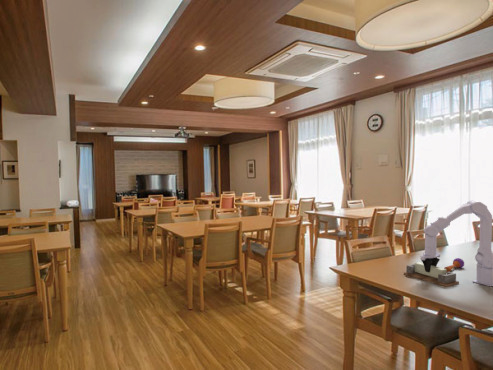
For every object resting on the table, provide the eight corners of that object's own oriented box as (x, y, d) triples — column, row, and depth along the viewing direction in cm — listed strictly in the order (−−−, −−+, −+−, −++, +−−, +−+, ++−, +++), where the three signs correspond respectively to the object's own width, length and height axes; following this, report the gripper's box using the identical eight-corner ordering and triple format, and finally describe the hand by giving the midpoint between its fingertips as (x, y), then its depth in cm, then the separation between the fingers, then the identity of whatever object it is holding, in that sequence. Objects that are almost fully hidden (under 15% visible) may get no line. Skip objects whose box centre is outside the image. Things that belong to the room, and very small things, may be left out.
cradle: (458, 283, 177) (459, 274, 177) (446, 286, 172) (446, 276, 172) (416, 271, 200) (416, 262, 199) (403, 274, 195) (403, 265, 194)
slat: (446, 278, 180) (446, 269, 180) (441, 279, 178) (441, 270, 178) (419, 270, 194) (419, 262, 194) (414, 271, 192) (414, 262, 192)
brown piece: (440, 264, 201) (454, 257, 213) (442, 274, 201) (456, 266, 213) (451, 264, 197) (464, 257, 209) (453, 275, 196) (466, 266, 208)
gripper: (432, 244, 192) (431, 267, 193) (415, 247, 186) (415, 271, 186) (444, 246, 186) (443, 271, 186) (427, 249, 179) (426, 274, 180)
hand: (430, 271), depth 186 cm, fingers closed on slat, 4 cm apart
